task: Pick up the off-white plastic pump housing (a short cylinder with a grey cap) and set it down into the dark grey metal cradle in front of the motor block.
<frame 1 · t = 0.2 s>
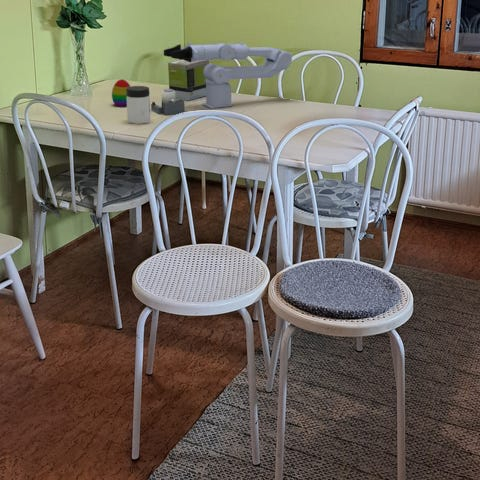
hand: (167, 53, 297), 21 cm above the table, tool horizontal, fingers open, 7 cm apart
jar: (139, 121, 288), on the table
motor cradle: (167, 110, 305), on the table
pump: (168, 105, 313), on the table
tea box: (189, 97, 328), on the table
decorative egg: (122, 105, 313), on the table
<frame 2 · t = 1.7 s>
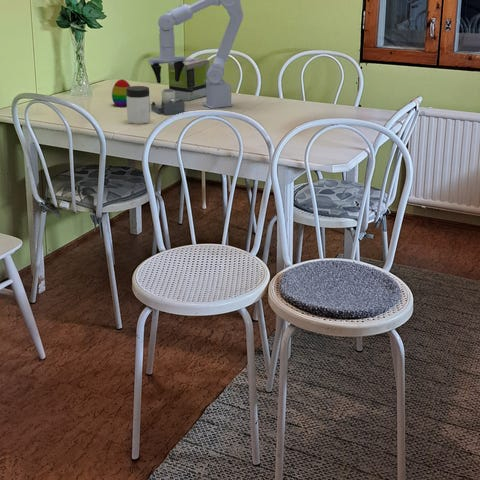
hand: (168, 82, 310), 9 cm above the table, tool pointing down, fingers open, 7 cm apart
nothing on the table moved.
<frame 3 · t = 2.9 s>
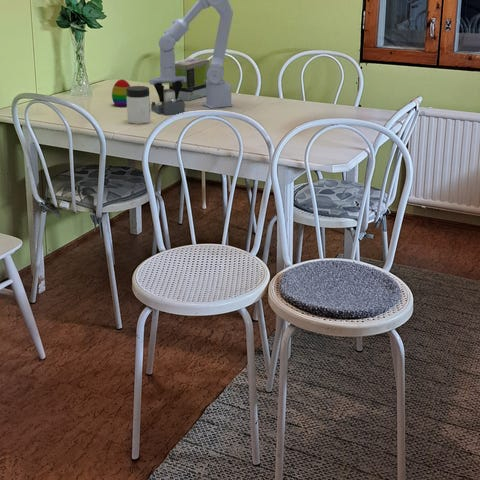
hand: (168, 101, 313), 1 cm above the table, tool pointing down, fingers closed on pump, 5 cm apart
pump: (168, 105, 313), on the table, touching gripper
everything else where it was.
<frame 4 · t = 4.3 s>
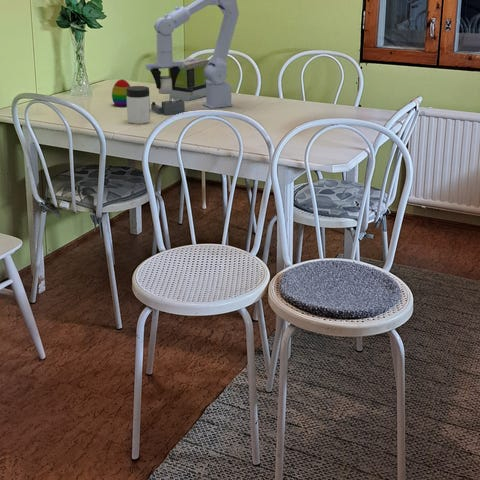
hand: (165, 87, 303), 8 cm above the table, tool pointing down, fingers closed on pump, 5 cm apart
pump: (165, 92, 304), point 6 cm above the table, touching gripper
everything else where it was.
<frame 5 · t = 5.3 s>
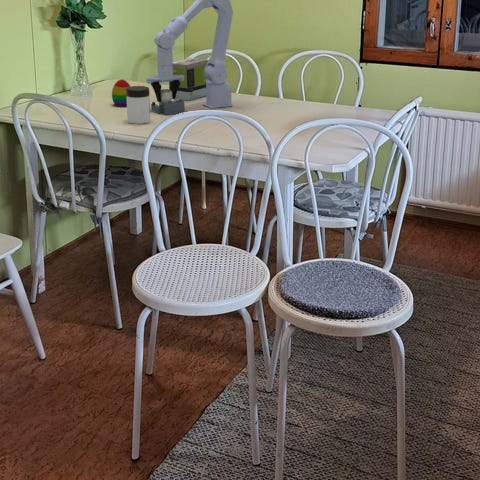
hand: (166, 100, 304), 3 cm above the table, tool pointing down, fingers closed on pump, 5 cm apart
pump: (165, 105, 305), point 1 cm above the table, touching gripper
everything else where it was.
when the fingers open (3 cm above the table, at t = 5.8 s): pump drops 1 cm, resting in motor cradle.
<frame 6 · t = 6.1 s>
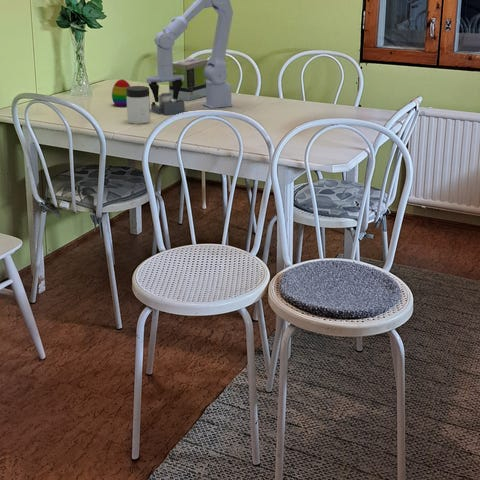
hand: (166, 100, 304), 3 cm above the table, tool pointing down, fingers open, 7 cm apart
pump: (166, 109, 306), resting in motor cradle
everything else where it was.
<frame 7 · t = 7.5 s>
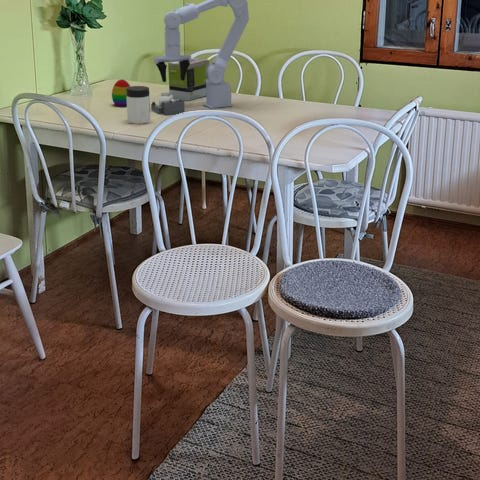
hand: (173, 80, 307), 10 cm above the table, tool pointing down, fingers open, 7 cm apart
nothing on the table moved.
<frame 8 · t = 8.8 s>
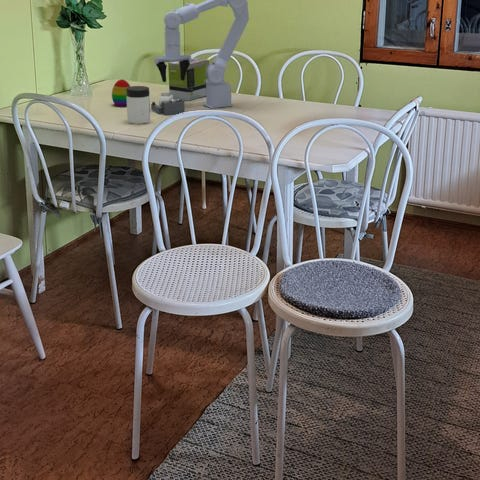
hand: (173, 80, 307), 10 cm above the table, tool pointing down, fingers open, 7 cm apart
nothing on the table moved.
at the end: pump 0.3 cm off-centre on the motor cradle, point 0.0 cm above the motor cradle's base; pump tilted 0°; the gripper is holding nothing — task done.
